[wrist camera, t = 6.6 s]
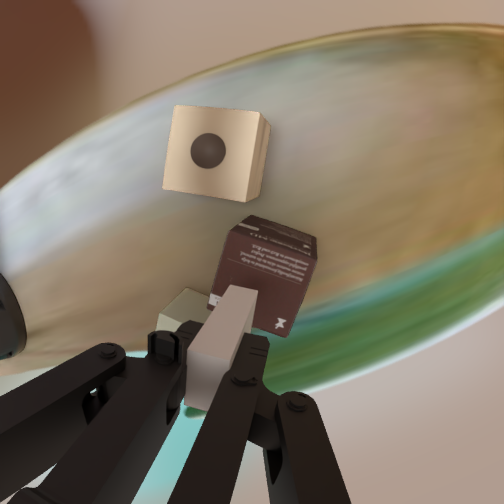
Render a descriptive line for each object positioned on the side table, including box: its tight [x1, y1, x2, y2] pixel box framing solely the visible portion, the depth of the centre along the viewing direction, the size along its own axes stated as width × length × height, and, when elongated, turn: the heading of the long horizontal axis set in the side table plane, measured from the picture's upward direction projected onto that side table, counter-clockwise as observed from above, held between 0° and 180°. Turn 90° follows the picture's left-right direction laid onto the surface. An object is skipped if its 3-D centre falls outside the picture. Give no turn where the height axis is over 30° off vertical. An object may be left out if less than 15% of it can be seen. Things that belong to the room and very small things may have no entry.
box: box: [206, 215, 317, 338], centre depth 23 cm, size 6×6×7 cm
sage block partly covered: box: [156, 287, 212, 332], centre depth 27 cm, size 6×6×6 cm
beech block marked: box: [162, 105, 271, 202], centre depth 23 cm, size 6×6×6 cm
